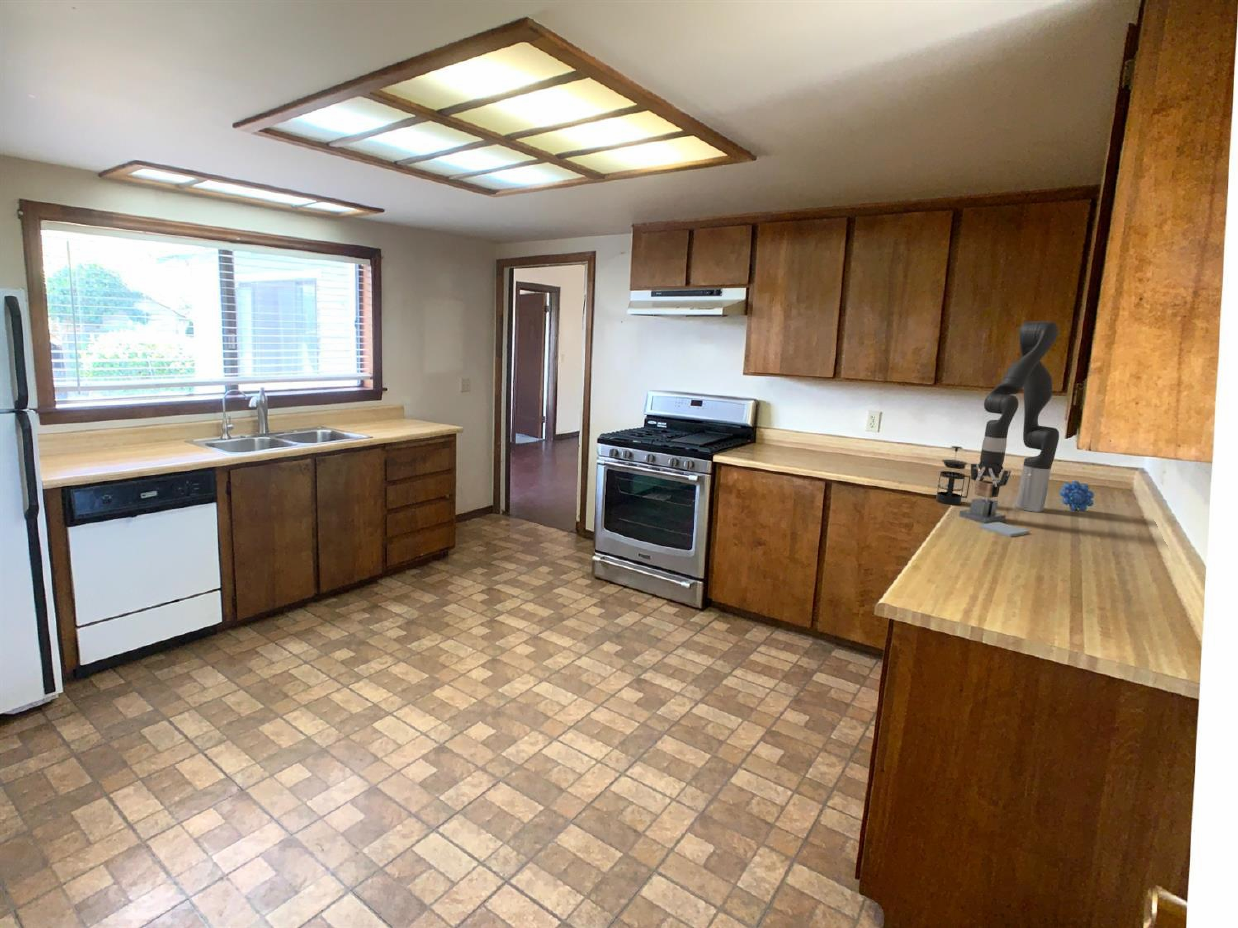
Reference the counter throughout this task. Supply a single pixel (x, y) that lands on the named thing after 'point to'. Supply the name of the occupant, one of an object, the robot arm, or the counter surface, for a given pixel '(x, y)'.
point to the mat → (1004, 529)
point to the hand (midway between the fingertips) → (986, 494)
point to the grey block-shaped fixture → (983, 511)
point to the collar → (984, 488)
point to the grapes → (1077, 495)
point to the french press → (952, 482)
